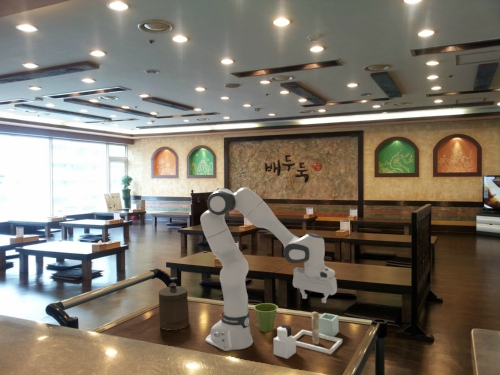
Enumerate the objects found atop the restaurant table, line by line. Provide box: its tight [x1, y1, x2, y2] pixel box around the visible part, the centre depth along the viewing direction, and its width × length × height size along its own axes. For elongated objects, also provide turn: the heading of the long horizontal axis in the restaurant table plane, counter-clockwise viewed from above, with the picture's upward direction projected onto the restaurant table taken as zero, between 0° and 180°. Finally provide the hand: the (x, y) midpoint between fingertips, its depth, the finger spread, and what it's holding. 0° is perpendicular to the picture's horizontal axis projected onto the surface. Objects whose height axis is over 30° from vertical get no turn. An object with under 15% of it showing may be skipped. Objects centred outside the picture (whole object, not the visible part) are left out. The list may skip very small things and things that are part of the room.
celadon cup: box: [319, 312, 340, 337], centre depth 196 cm, size 7×7×9 cm
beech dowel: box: [311, 311, 320, 345], centre depth 186 cm, size 3×3×14 cm
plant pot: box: [253, 302, 279, 333], centre depth 205 cm, size 12×12×11 cm
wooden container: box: [158, 282, 190, 331], centre depth 213 cm, size 15×15×22 cm
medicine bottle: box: [272, 324, 297, 360], centre depth 179 cm, size 7×7×12 cm
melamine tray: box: [294, 329, 343, 357], centre depth 187 cm, size 20×13×2 cm, turn 56°
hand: (314, 300), depth 185 cm, fingers open, 8 cm apart
